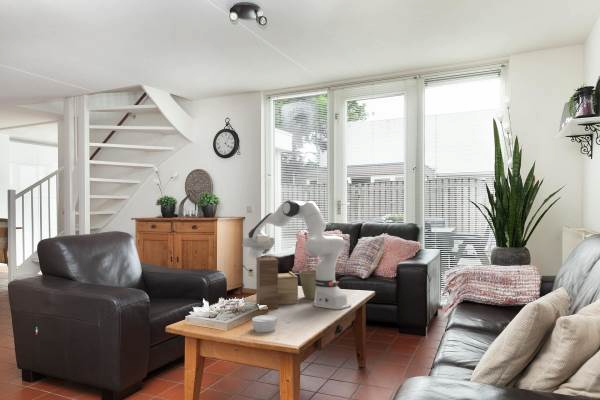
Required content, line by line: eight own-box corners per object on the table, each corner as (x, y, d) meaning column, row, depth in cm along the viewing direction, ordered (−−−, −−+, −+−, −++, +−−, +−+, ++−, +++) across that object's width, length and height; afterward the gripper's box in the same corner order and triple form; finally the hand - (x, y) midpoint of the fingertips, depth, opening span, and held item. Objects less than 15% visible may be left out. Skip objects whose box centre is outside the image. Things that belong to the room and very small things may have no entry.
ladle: (270, 243, 243) (270, 235, 243) (259, 243, 242) (259, 236, 242) (264, 239, 267) (264, 232, 267) (254, 240, 266) (254, 232, 266)
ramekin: (253, 334, 186) (253, 322, 186) (250, 327, 196) (250, 315, 197) (278, 332, 188) (278, 320, 188) (274, 325, 199) (274, 314, 199)
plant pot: (323, 300, 252) (323, 273, 252) (298, 300, 252) (298, 273, 253) (322, 295, 267) (322, 269, 267) (299, 295, 267) (299, 269, 267)
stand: (302, 307, 233) (302, 257, 234) (259, 310, 228) (259, 259, 228) (290, 295, 266) (290, 251, 266) (252, 297, 260) (252, 252, 261)
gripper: (241, 241, 274) (243, 232, 263) (272, 241, 279) (275, 232, 267) (241, 250, 271) (243, 241, 260) (273, 250, 276) (276, 241, 264)
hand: (260, 236), depth 264 cm, fingers closed on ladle, 3 cm apart
